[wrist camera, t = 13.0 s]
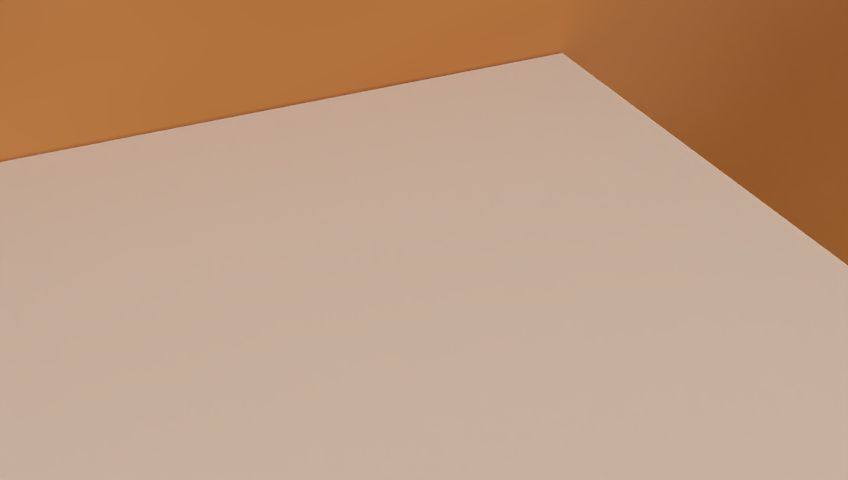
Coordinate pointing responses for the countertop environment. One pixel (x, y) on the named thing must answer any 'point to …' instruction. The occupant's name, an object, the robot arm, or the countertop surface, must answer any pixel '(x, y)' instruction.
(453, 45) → the countertop surface
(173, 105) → the countertop surface
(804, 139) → the countertop surface
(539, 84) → the beige block
